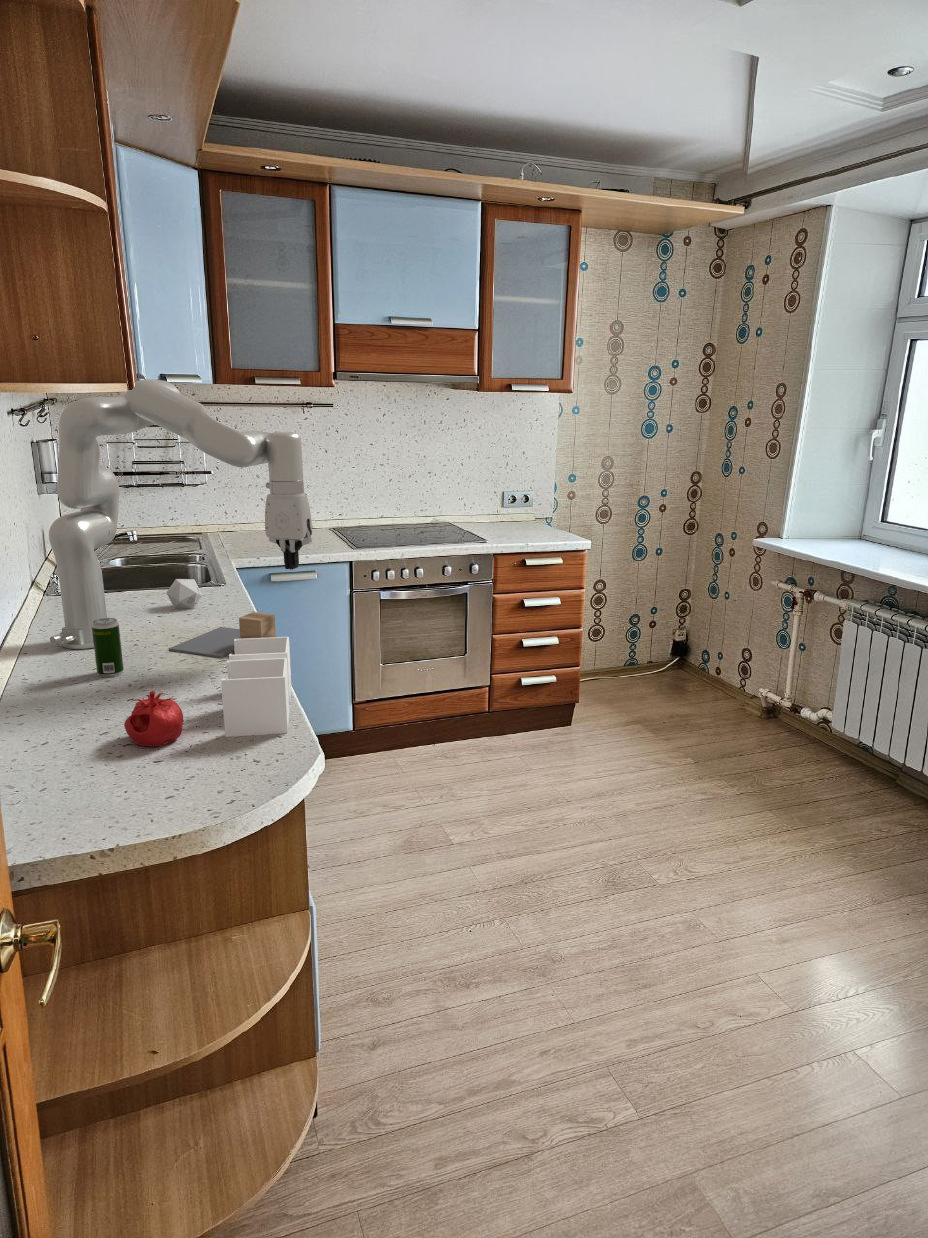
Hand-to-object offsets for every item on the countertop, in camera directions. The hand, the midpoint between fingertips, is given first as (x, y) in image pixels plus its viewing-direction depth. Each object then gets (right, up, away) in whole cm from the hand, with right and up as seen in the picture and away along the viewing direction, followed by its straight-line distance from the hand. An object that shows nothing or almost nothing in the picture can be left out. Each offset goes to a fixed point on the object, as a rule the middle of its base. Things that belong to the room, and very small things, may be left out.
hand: (291, 568), depth 186 cm
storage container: (0, -30, -29) cm, 41 cm away
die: (-40, -9, +44) cm, 60 cm away
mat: (-20, -18, +13) cm, 30 cm away
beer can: (-38, -24, -10) cm, 46 cm away
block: (-10, -19, +9) cm, 23 cm away
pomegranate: (-15, -33, -43) cm, 56 cm away
